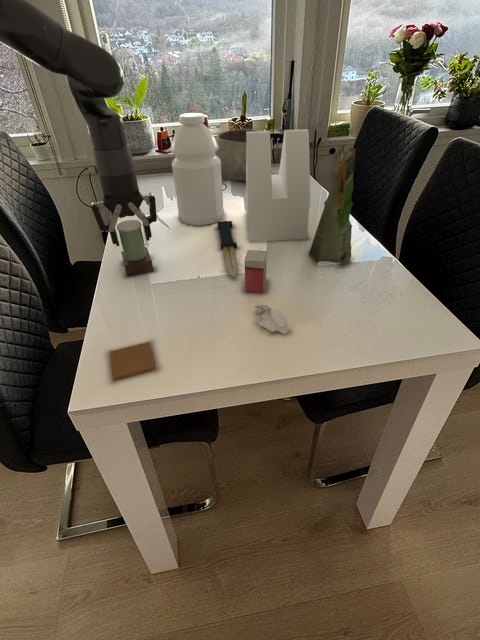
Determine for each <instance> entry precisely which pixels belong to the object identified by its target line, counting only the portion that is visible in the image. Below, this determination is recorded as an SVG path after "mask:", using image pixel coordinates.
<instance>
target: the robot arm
mask: <svg viewBox="0 0 480 640" xmlns="http://www.w3.org/2000/svg"><path fill="white" fill-rule="evenodd" d="M0 43H1V44H2V45H4V46H6V47H8V48H9V49H11V50H13V51H15V52H16V53H18V54H20V55H21V56H23V57H24V58H25V59H28V60H29V61H31V62H33V63H34V64H36V65H38V66H40V67H41V68H42V69H45V70H47V71H48V72H50V73H53V74H57V75H63V76H65V79H66V80H65V81H66V84H67V86H68V89H69V93H70V94H71V96H72V99H73V100H74V103H75V104H76V107H77V109H78V111H79V113H80V115H81V117H82V118H83V121H84V122H85V124H86V126H87V131H88V135H89V140H90V143H91V147H92V152H93V159H94V163H95V170H96V172H97V175H98V179H99V182H100V183H99V184H100V186H101V190H102V194H103V199H102V200H101V201H91V203H90V206H91V210H92V211H91V212H92V213H93V215H94V218H95V220H96V223H97V226H98V228H99V230H100V231H102V232H104V231H106V232H108V233H109V235H110V239H111V243H112V244H113V245H115V246H116V247H120V246H121V245H120V242H119V237H118V233H117V228H116V226H117V224H118V220H119V218H120V219H123V218H126V217H135V216H136V217H137V218H138V219H139V221H140V222H141V223H142V226H143V232H144V236H145V240H146V241H147V242H148V241H150V240H151V238H152V237H153V236H152V235H153V234H152V230H151V224H152V223H157V221H158V215H157V202H156V196H155V195H154V193H153V192H149V193H148V194H142V193H141V191H140V189H139V188H140V187H139V184H138V179H137V174H136V168H135V162H134V158H133V154H132V151H131V147H130V145H129V139H128V135H127V130H126V124H125V121H124V118H123V116H122V115H121V114H120V113H119V112H117V111H115V110H113V109H112V108H111V107H110V106H109V104H108V102H107V100H106V99H112V98H116V97H117V96H118V95H120V93H121V92H122V91H123V88H124V85H125V75H124V73H123V69H122V68H121V67H122V66H121V65H120V63H119V61H118V60H117V59H116V58H115V57H114V56H113V55H112V54H111V53H110V52H109V51H108V50H106V49H105V48H103V47H102V46H100V45H98V44H96V43H94V42H92V41H90V40H89V39H87V38H85V37H83V36H81V35H79V34H77V33H75V32H72V31H70V30H69V29H68V28H65V27H64V26H63V25H62V24H60V23H59V22H58V21H56V20H55V19H54V18H53V17H51V16H50V15H49V14H47V13H46V12H45V11H44V10H42V9H41V8H39V7H38V6H36V5H35V4H33V3H32V2H31V1H29V0H0ZM143 201H144V202H145V204H146V205H147V206H148V208H149V209H148V210H149V215H148V216H147V215H145V213H144V212H143V211H142V209H141V208H140V207H141V205H142V203H143ZM104 207H105V208H106V209H107V210H108V211H109V212H110V215H109V220H108V222H105V220H104V218H103V215H102V213H103V211H104V210H103V209H104Z"/></svg>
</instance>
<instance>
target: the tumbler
mask: <svg viewBox="0 0 480 640" xmlns="http://www.w3.org/2000/svg"><path fill="white" fill-rule="evenodd" d="M142 226H143V223H142V221H141V220H137V219H127V220H123V221H120V222H119V223H116V226H115V228H116V231H117V232H118V235H119V240H120V243H121V247H122V251H124V255H125V259H126V260H129V261H138V260H141V259H144V258H145V257H146V256H147V252H146V248H145V247H146V243H145V238H144V233H143V230H142Z"/></svg>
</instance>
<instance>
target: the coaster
mask: <svg viewBox="0 0 480 640" xmlns="http://www.w3.org/2000/svg"><path fill="white" fill-rule="evenodd" d="M109 355H110V363H111V364H110V365H111V372H112V380H113V381H117V380H120V379H124V378H125V379H126V378H128V377H132V376H136V375H139V374H142V373H147V372H151V371H154V370H155V371H156V365H155V361H154V358H153V353H152V350H151V345H150V342H149V341H145V342H142V343H139V344H138V343H137V344H134V345H131V346H126V347H122V348H118V349H114V350H111V351H109Z"/></svg>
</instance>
